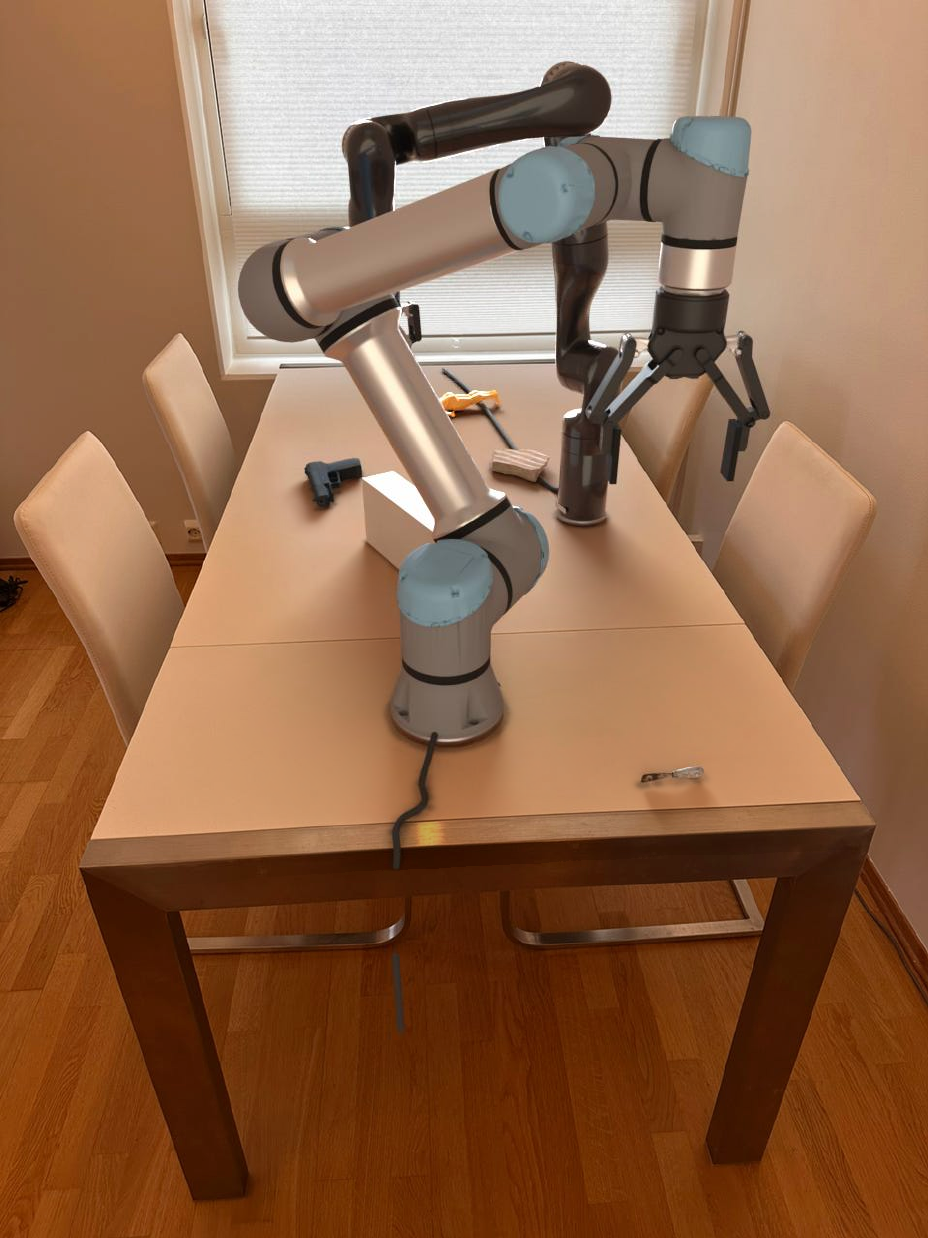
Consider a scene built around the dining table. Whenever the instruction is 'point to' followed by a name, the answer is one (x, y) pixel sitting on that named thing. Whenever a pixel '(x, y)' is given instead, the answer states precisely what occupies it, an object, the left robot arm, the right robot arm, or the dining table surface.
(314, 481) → the handgun
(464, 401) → the human figure
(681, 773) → the putty knife
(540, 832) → the dining table surface
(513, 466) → the stone
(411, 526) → the box
